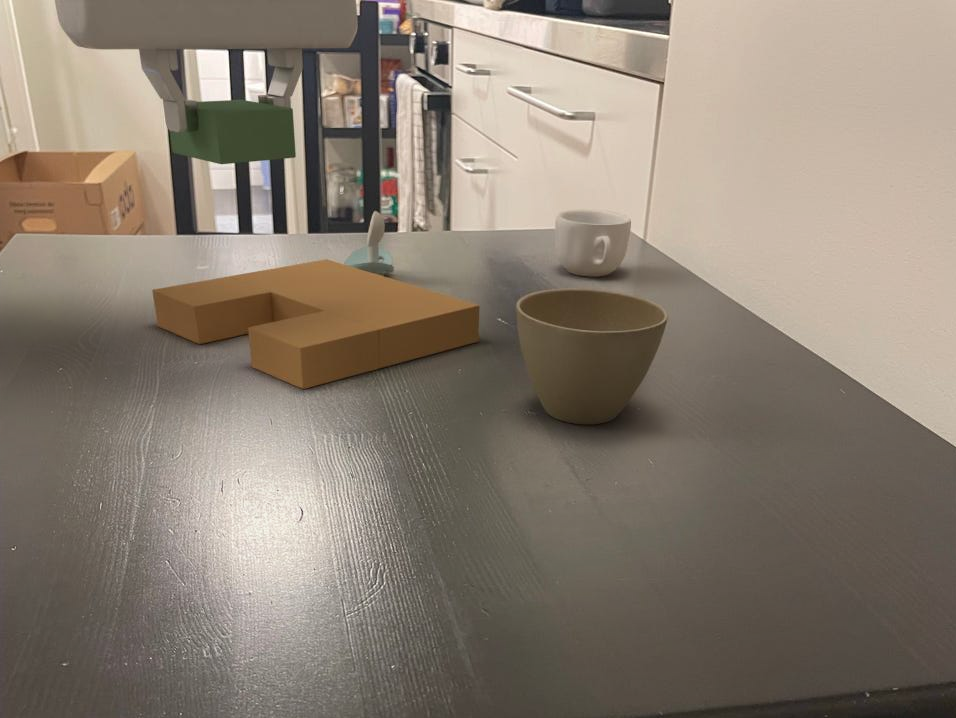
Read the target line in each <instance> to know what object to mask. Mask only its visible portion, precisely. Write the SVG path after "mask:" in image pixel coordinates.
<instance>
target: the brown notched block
mask: <svg viewBox="0 0 956 718" xmlns="http://www.w3.org/2000/svg"><path fill="white" fill-rule="evenodd" d="M152 298H153V305H154V311H155V317H156V324H157V327H158V328H161V329H163V330H165V331H168V332H170V333H172V334H175V335H177V336H179V337H181V338H183V339H186V340H189V341H190V342H193V343H195V344H198V345H202V344H207V343H212V342H217V341H220V340H221V341H222V340H225V339H226V340H227V339H230V338H235V337H239V336H243V335H248V339H249V340H248V343H249V351H250V361H251V363H250V364H251V368H253V369H255V370H258V371H260V372H262V373H265V374H267V375H269V376H271V377H274V378H275V379H279V380H281V381H283V382H286V383H288V384H290V385H293V386H295V387H297V388H298V389H299V388H300V389H301V390H306V389H309V388H313V387H316V386H320V385H325V384H328V383H332V382H335V381H338V380H342V379H346V378H349V377H353V376H357V375H361V374H364V373H368V372H372V371H376V370H380V369H382V368H387V367H390V366H394V365H398V364H402V363H405V362H408V361H412V360H416V359H419V358H423V357H428V356H431V355H434V354H438V353H442V352H445V351H449V350H452V349H456V348H461V347H464V346H468V345H472V344H475V343H479V334H480V307H481V306H480V304H477V303H474V302H470V301H467V300H464V299H460V298H457V297H455V296H450V295H446V294H444V293H440V292H436V291H434V290H430V289H427V288H423V287H420V286H417V285H414V284H410V283H407V282H404V281H400V280H398V279H393V278H390V277H387V276H384V275H383V276H381V275H377V274H374V273H371V272H367V271H364V270H361V269H357V268H354V267H351V266H347V265H345V264H343V263H340V262H337V261H334V260H330V259H320V260H313V261H310V262H309V261H308V262H303V263H299V264H290V265H288V266H287V265H286V266H279V267H274V268H269V269H263V270H257V271H253V272H245V273H241V274H235V275H229V276H223V277H218V278H212V279H206V280H201V281H195V282H188V283H184V284H178V285H171V286H166V287H160V288H154V289H152Z"/></svg>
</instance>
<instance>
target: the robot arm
mask: <svg viewBox="0 0 956 718" xmlns="http://www.w3.org/2000/svg"><path fill="white" fill-rule="evenodd" d="M54 4H55V10H56V15H57V20H58V23H59V25H60V28H61V30H62V31H63V32H64V33H65V34H66V36H67V37H68V39H69V40H70V41H71V42H72V43H73V44H74V45H75V46H77V47H79V48H84V49H89V50H138V53H139V58H140V60H139V61H140V66H141V70H142V72H143V73H144V74H145V76H146V78H147V80H148V81H149V83H150V84H151V86H152V87H153V89H154V90H155V92H156V94H157V96H158V97H159V99H160V100H162V106H163V113H164V114H163V115H164V120H165V125H166V128H167V129H168V131H169V132H170V131H174V132H191V131H197V130H198V127H199V124H198V118H197V109H198V105H197V102H198V101H197V100H193V99H187V98H186V97H185V96H184V94H183V92H182V90H181V88H180V87H179V85H178V83H177V81H176V79H175V77H174V76H173V73H172V72H171V71H178V70H179V61H178V51H177V50H221V49H222V50H233V49H234V50H236V49H237V50H241V49H242V50H244V49H247V50H250V49H251V50H253V49H255V50H258V49H259V50H260V49H261V50H262V49H266V51H267V64H268V65H269V66H270V67H274V71H273V74H272V77H271V81H270V84H269V88H268V91H267V94H259V95H257V101H258V103H264V104H270V105H276V106H282V107H288V108H292V103H291V102H292V101H291V97H293V95H294V92H295V89H296V87H297V85H298V83H299V79H300V78H301V74H302V72H303V70H304V62H303V49H348V48H349V47H351V45H352V43H353V41H354V39H355V37H356V35H357V31H358V27H359V25H358V7H357V0H54Z"/></svg>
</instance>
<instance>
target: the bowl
mask: <svg viewBox="0 0 956 718" xmlns="http://www.w3.org/2000/svg"><path fill="white" fill-rule="evenodd" d="M515 311H516V312H515V315H516V326H517V334H518V340H519V341H518V342H519V345H520V349H521V354H522V358H523V362H524V364H525V368H526V372H527V374H528V376H529V380H530V382H531V384H532V387H533V389H534V391H535V394H536V395H537V398H538V399H539V401H540V403H541V405H542V407H543V409H544V410H545V412H546V414H548V415H549V416H550V417H552V418H554V419H556V420H559V421H561V422H565V423H569V424H575V425H599V424H600V425H601V424H604V423H607V422H610V421H612V420H614V419H615V418H617V416H618V415H619V414H620V413H621V412H622V411H623V409H624V408H625V407H626V405H627V404H628V403H629V402H630V400H631V399H632V398H633V396H634V394H635V393H636V392H637V390H638V389H639V387H640V385H641V384H642V382H643V380H644V378H645V377H646V376H647V373H648V371H649V369H650V368H651V365H652V363H653V361H654V360H655V357H656V354H657V352H658V350H659V347H660V345H661V341H662V339H663V336H664V333H665V331H666V326H667V323H668V318H669V313H668V311H667V310H666V309H665V308H664V307H663V306H661V305H660V304H658V303H656V302H654V301H652V300H649V299H646V298H644V297H641V296H636V295H633V294H629V293H625V292H620V291H614V290H613V291H612V290H606V289H596V288H584V287H583V288H581V287H576V288H575V287H571V288H570V287H566V288H565V287H564V288H563V287H562V288H552V289H545V290H539V291H535V292H531V293H528V294H525V295H524V296H521V297H520V298H518V300H517V301H516V304H515Z"/></svg>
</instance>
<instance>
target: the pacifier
mask: <svg viewBox="0 0 956 718" xmlns="http://www.w3.org/2000/svg"><path fill="white" fill-rule="evenodd" d="M384 219H385V218H384V217H383V215H382V214H381V213H380V212H378V210H377V211H376V210H375V211H373V213H372V215H371V219H370V223H369V226H368V232H367V238H366V246H364V247H360V248H358V249H356V250H355V249H354V251H352V252H351V253H350V254H349V255H348V256H347V258H345V260H344V265H347V266H351V267H354V268H357V269H361V270H364V271H367V272H371V273H374V274H377V275H381V276H384V274H387V273H393V272H394V270H395V267H394V265H393V264H394V259H393V258H394V257H393V256H392V254H391V253H390V252H389V251H388V250H387V249H385V248H384V247H381V246H379V243H380V242H381V241H382V239H383V238H384V235H385V229H386V223H385V220H384ZM380 260H383V261H380Z"/></svg>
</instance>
